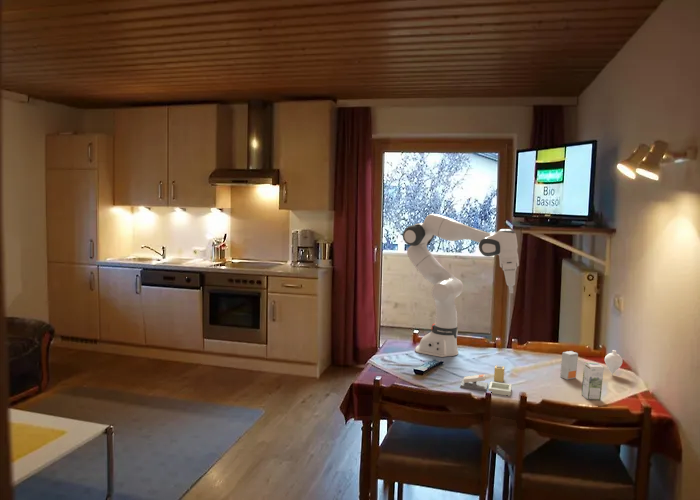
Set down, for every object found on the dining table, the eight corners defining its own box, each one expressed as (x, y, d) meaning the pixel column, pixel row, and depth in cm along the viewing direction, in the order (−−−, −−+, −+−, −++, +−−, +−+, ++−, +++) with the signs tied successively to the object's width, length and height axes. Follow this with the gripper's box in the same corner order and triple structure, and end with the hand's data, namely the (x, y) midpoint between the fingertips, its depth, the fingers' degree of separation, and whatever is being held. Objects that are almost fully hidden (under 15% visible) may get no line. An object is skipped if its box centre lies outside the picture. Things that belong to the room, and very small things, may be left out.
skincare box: (567, 380, 251) (569, 354, 250) (559, 377, 255) (561, 352, 254) (576, 378, 254) (578, 353, 253) (569, 375, 258) (571, 350, 257)
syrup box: (594, 395, 233) (597, 362, 232) (601, 400, 228) (604, 366, 226) (581, 394, 233) (583, 361, 232) (587, 400, 227) (590, 366, 226)
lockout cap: (493, 380, 247) (494, 367, 246) (494, 378, 251) (495, 364, 250) (503, 382, 246) (504, 368, 245) (503, 379, 250) (504, 365, 249)
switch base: (460, 387, 237) (460, 382, 237) (462, 381, 245) (462, 376, 245) (486, 391, 234) (486, 386, 233) (487, 385, 241) (488, 380, 241)
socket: (488, 392, 232) (488, 388, 232) (490, 385, 240) (490, 381, 240) (510, 396, 229) (510, 391, 229) (511, 388, 238) (511, 384, 237)
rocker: (464, 382, 239) (463, 379, 239) (465, 379, 242) (464, 376, 242) (484, 380, 235) (484, 376, 235) (485, 377, 239) (485, 373, 239)
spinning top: (606, 371, 266) (609, 347, 264) (623, 375, 260) (625, 350, 259) (600, 374, 260) (602, 350, 259) (617, 379, 255) (619, 353, 254)
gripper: (502, 259, 274) (504, 286, 276) (502, 267, 255) (504, 296, 256) (515, 258, 272) (517, 285, 274) (516, 266, 253) (518, 295, 255)
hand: (511, 290), depth 265 cm, fingers open, 8 cm apart
